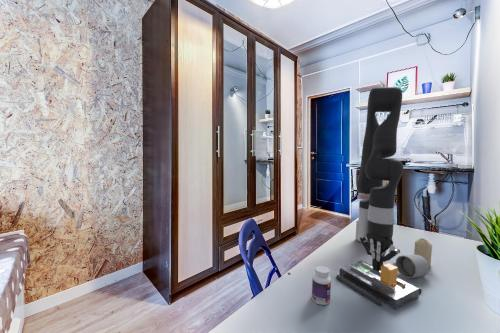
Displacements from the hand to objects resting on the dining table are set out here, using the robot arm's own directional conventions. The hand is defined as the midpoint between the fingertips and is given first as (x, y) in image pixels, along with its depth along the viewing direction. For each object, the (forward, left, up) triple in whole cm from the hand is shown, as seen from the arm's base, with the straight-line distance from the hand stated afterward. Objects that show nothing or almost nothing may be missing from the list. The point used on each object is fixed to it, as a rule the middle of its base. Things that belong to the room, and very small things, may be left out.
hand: (377, 270), depth 77 cm
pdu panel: (0, 0, -6) cm, 6 cm away
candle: (-1, +31, -6) cm, 32 cm away
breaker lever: (+4, 0, -3) cm, 5 cm away
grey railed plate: (0, 0, -6) cm, 6 cm away
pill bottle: (-3, -22, -6) cm, 23 cm away
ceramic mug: (0, +18, -6) cm, 19 cm away
